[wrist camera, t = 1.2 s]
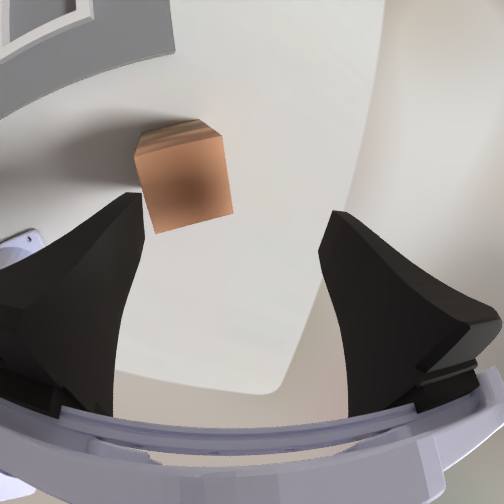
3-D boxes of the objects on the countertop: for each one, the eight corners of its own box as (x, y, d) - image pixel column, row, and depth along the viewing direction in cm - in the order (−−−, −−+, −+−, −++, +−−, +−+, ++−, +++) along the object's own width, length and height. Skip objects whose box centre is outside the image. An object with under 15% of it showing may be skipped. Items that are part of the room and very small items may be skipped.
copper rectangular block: (154, 186, 19) (155, 234, 13) (141, 133, 17) (133, 157, 11) (208, 173, 20) (233, 213, 14) (199, 119, 17) (221, 135, 12)
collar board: (-25, 136, 11) (-44, 144, 9) (-32, -8, 3) (-48, -13, 1) (174, 53, 14) (176, 47, 12) (160, -91, 6) (163, -108, 4)
